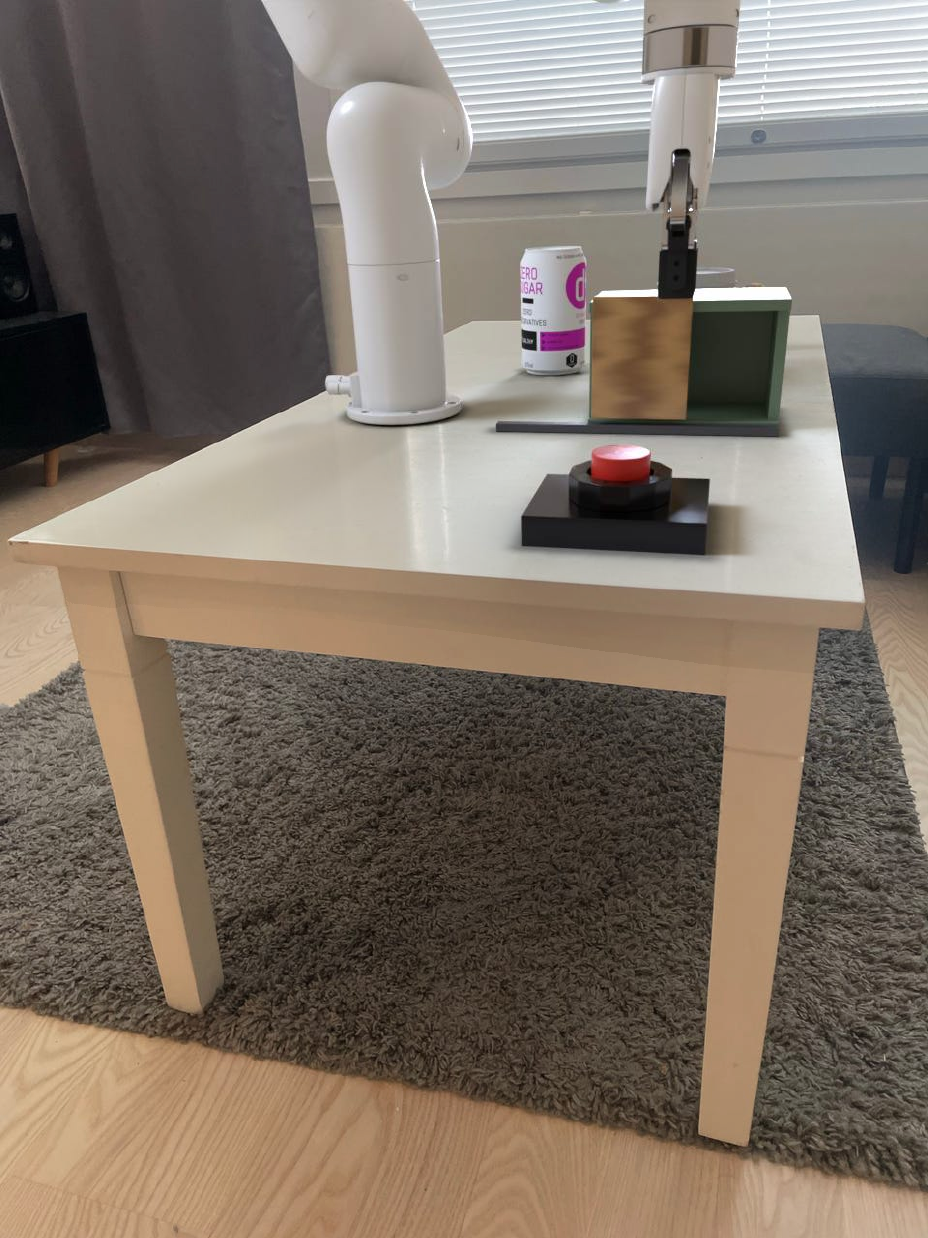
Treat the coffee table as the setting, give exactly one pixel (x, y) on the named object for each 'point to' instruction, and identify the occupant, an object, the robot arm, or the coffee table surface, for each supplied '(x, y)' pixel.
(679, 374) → the sliding door
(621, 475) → the button
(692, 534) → the button box
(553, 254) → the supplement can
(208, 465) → the coffee table surface
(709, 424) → the cabinet
